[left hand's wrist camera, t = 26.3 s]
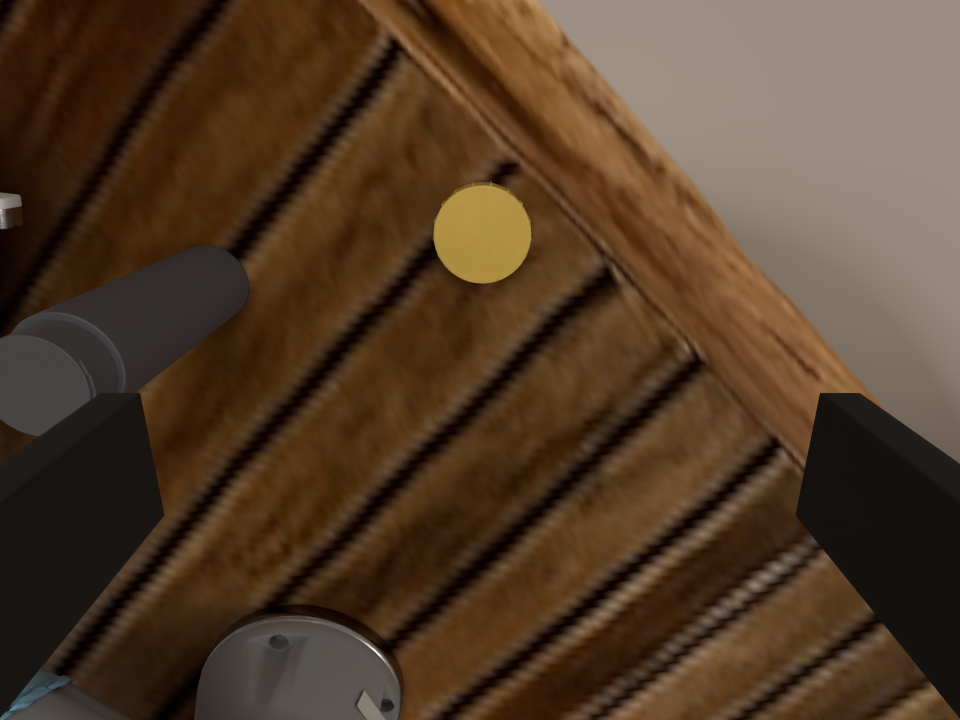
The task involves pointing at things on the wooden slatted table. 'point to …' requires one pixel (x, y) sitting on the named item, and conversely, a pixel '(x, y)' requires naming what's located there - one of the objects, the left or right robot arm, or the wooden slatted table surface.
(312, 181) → the wooden slatted table surface
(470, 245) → the lid
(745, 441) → the wooden slatted table surface
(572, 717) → the wooden slatted table surface
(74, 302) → the jar
